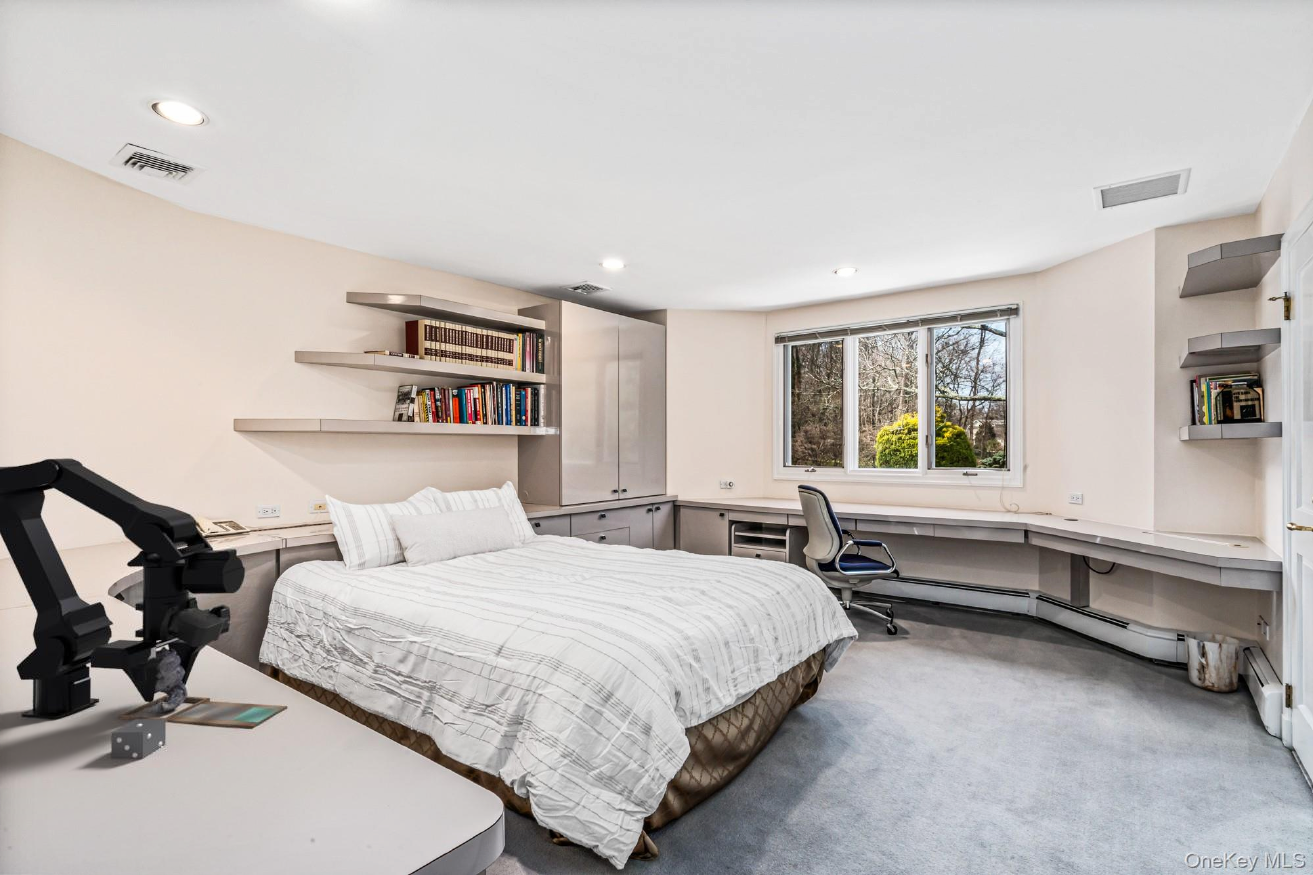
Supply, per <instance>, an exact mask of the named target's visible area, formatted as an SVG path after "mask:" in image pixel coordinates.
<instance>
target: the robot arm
mask: <svg viewBox="0 0 1313 875" xmlns="http://www.w3.org/2000/svg"><path fill="white" fill-rule="evenodd" d="M52 489H55V490H56V491H58V492H60V493H62V494H63V495H65V496H66V497H69V498H70V499H73V500H74V501H76V502H78V503H79V504H81V505H83V506H85V507H87V508H88V509H91V510H92V511H94V512H96V513H97V514H99V515H101V516H103V517H105V518H107V519H109V520H110V521H112V522H114V524H116V525H118V527H120V528H121V531H122V532H123V534H124V537H125V538H126V539H127V540H129V541H130V542H131V543H133V544H134V546H136V547H137V548H138V549H140V551H139V552H138V553H137V555H136V556H135V557H134V558H132V559H130V561H128V562H127V564H126V565H127V567H130V568H135V567H138V568H140V567H142V601H141V602H137V603H135V604H134V606H135V611H142V628H139V629H136V630H134V631H135V633H134V634H135V635H134V637H135V638H142V639H141V640H131V639H130V640H129V639H117V640H115V641H114V640H113V641H111V640H110V639H111V638H112V636H113V634H112V633H113V632H112V628H111V626H112V625H114V622H113V621H112V620H111V619H110V618H109V617H108V615H107V612H106V609H105V606H104V604H103V603H102V602H101V601H98V602H95V603H92V604H89V603H88V602H86V601H85V600H84V599H82V598H81V597H80V596H79V594H78V592H77V589H76V588H75V586H74V584H73V581H72V579H71V577H70V575H69V573H68V571H67V569H66V567H65V564H64V562H63V560H62V558H61V556H60V553H59V551H58V549H57V548H56V545H55V543H54V541H53V538H52V536H51V534H50V533H49V530H48V529H47V528H48V527H47V525H46V523H45V521H44V519H43V517H42V511H43V507H44V503H45V501H46V495H45V491H49V490H52ZM196 523H197V520H196V519H195V518H194V516H193V515H191V514H190V513H187V512H185V511H182V510H180V509H177V508H174V507H171V506H167V505H164V504H159V503H154V502H150V501H148V500H144V499H142V498H140V497H139V496H137V495H135V493H132V492H130V491H129V490H127V489H126V488H123V487H121V486H119V485H118V484H116V483H115V482H112V481H110V480H109V479H107V478H105V477H104V476H101V475H100V474H98V473H96V472H95V471H92V469H89V468H87V467H86V466H84V465H83V463H82V462H80V461H78V460H76V459H74V458H47V459H43V460H41V461H36V462H32V463H27V464H23V465H21V464H20V465H16V466H15V465H14V466H10V465H9V466H0V536H1V539H2V541H3V543H4V545H5V547H6V549H7V551H8V554H9V555H10V558H11V559H12V562H13V564H14V565H15V569H16V571H17V573H18V574H19V577H20V580H21V581H22V583H23V585H24V588H25V589H26V592H27V594H28V596H29V598H30V600H31V602H32V604H33V606H34V608H35V611H36V620H35V623H34V627H33V631H32V637H33V641H34V644H35V649H34V650H32V651H31V653H29V654H28V655H27V656H26V657H25V658H24V659H23V660H22V661H20V663H18V664H17V665H16V671H17V673H18V676H19V679H20V680H21V681H26V680H27V681H29V680H30V681H32V708H31V709H29V710H26V711H24V712H21V716H20V717H21V718H22V717H23V718H32V719H33V718H34V719H48V720H49V719H50V720H58V719H61V718H63V717H66V716H68V715H71V714H74V713H77V712H78V711H81V710H84V709H86V708H88V707H90V706H93V705H96V704H97V703H100V698H91V694H92V692H91V691H92V687H91V686H92V678H91V676H90V670H91V669H90V668H93V669H108V670H109V669H111V670H122V671H123V672H124V673H125V674H126V676H127V677H128V678H129V679H130V681H131V682H132V684H133V685H134V687H135V688H136V690H137V692H138V693H139V695H140V696H141V697H142V699H143V700H144V702H146V703H149V702H152V701H154V700H155V695H156V693H155V681H156V668H157V666H158V665H159V664H160V663H161V661H162V660H163V659H164V658H158V657H156V651H157V649H160V648H162V647H166V646H168V650H169V649H173V650H175V651H176V652H177V653H176V655H178V656H179V658H180V664H179V665H181V666H182V668H183V669H184V671H185V674H184V676H183V679H182V680H181V681H182V682H183V684H185V686H186V684H187V682H188V679H189V676H190V675H191V672H192V669H193V666H194V664H195V662H196V660H197V657H198V656H199V654H200V652H201V651H202V649H204V648H205V647H206V646H208V645H209V644H210V643H212V642H215V641H218V640H219V638H220V636H221V635H223V634H225V633H228V632H230V625H231V624H230V623H231V622H230V621H231V610H230V609H231V608H230V607H229V606H227V605H225V604H220V605H218V606H214V607H212V608H211V609H209V608H207V609H200V608H199V606H198V600H197V597H194V596H192V597H191V596H190V593H191V594H193V595H196V594H197V595H205V594H207V595H208V594H211V595H212V594H213V595H214V594H215V595H216V594H218V595H219V594H220V595H221V594H235V593H237V592H239V590H240V589H241V587H242V585H243V584H244V579H245V574H246V568H245V567H244V564H243V561H242V559H241V558H240V557H238V556H237V553H238V552H237V551H238V550H237V549H236V548H227V549H223V550H222V549H220V550H219V549H218V550H217V549H216V550H214V548H213V546H212V545H211V544H210V542H209V541H208V540H207V539H206V537H205V536H204V535H203V533H202V532H201V531H200V530H199V529H198V527H197V524H196ZM110 641H111V642H110ZM88 664H90V666H88Z"/></svg>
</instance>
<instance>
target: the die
mask: <svg viewBox="0 0 1313 875" xmlns="http://www.w3.org/2000/svg"><path fill="white" fill-rule="evenodd" d="M166 723H167V722H166V719H135V720H131V721H130V722H128V723H125V724H124V725H122V726H120V727H119V728H117V729H115V730H113V731H112V732H111V737H110V738H111V740H110V742H111V743H110V744H111V745H110V746H111V748H110V749H111V752H110V753H111V754H110V756H111V758H110V759H113V760H114V759H115V760H116V759H119V760H121V759H123V760H125V759H127V760H130V759H131V760H143V759H145V758H147V757H148V755H149V756H150V755H152V754H154V753H155V752H157V751H159V750H160V749H162V748H161V746H164V745H165V746H166V738H167V736H166V727H167V726H166ZM165 746H164V747H165ZM159 748H160V749H159ZM158 749H159V750H158ZM156 750H157V751H156ZM153 752H154V753H153Z"/></svg>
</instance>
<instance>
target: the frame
mask: <svg viewBox="0 0 1313 875" xmlns="http://www.w3.org/2000/svg"><path fill="white" fill-rule="evenodd" d="M168 698H169V696H168V695H167V694H166V695H164V696H160V697H159V698H156V699H154V700H153V701H152V702H146V703H145V704H143V705H140V706H138V707H136V708H134V709H132V710H129V711H126V712H125V713H122V714H121V715H118V716H117V719H119V720H120V719H121V720H131V721H133V720H135V719H166V723H169V722H168V720H169V719H172V718H174V717H176V716H178V715H180V714H182V713H184V712H186V711H188V710H190V709H192V708H194V707H196V706H198V705H200V704H202V703H205V702H207V701H211V698H210V697H202V696H201V697H199V696H187V698H186V699H184V701H183V703H184V702H188V703H194V704H191V705H189V706H187V707H185V708H183V709H181V710H179V711H177V712H175V713H173V714H171V715H169V716H166V717H157V716H156V717H155V716H142V715H141V716H140V715H133V714H135V713H138V712H140V711H144V710H147V708H149V707H151V706H152V705H154V704H155V703H156V701H161V702H162V703H164V702H165V701H168Z"/></svg>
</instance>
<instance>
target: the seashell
mask: <svg viewBox="0 0 1313 875" xmlns="http://www.w3.org/2000/svg"><path fill="white" fill-rule="evenodd" d="M176 653H177V652H176V651H175V650H173V649H169V648H166V646H163V647H161V649H160V650H156V657H158V658H164V659H163V660H162V661H161V663H160V664H159V665H158V666H157V668H156V681H155V694H158V693H164V694H166V695H168V696H169V698H168V700H166V702H161V701H156V703H155V704H154V705H152V706H151V707H149V708H146V710H147V714H159V713H164V712H169V711H171V710H174V709H178V708H179V707H180V706H181V705H182V704H183V703H184V699H186V698H187V697H189V696H188V695H189V693H188V690H187V687H186V685H185V684H183V682H182V681H181V680H182V679H183V676H184V674H185V671H184V669H183V668H182V666H181V665H179V664H180V658H179V656H178V655H176Z"/></svg>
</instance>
